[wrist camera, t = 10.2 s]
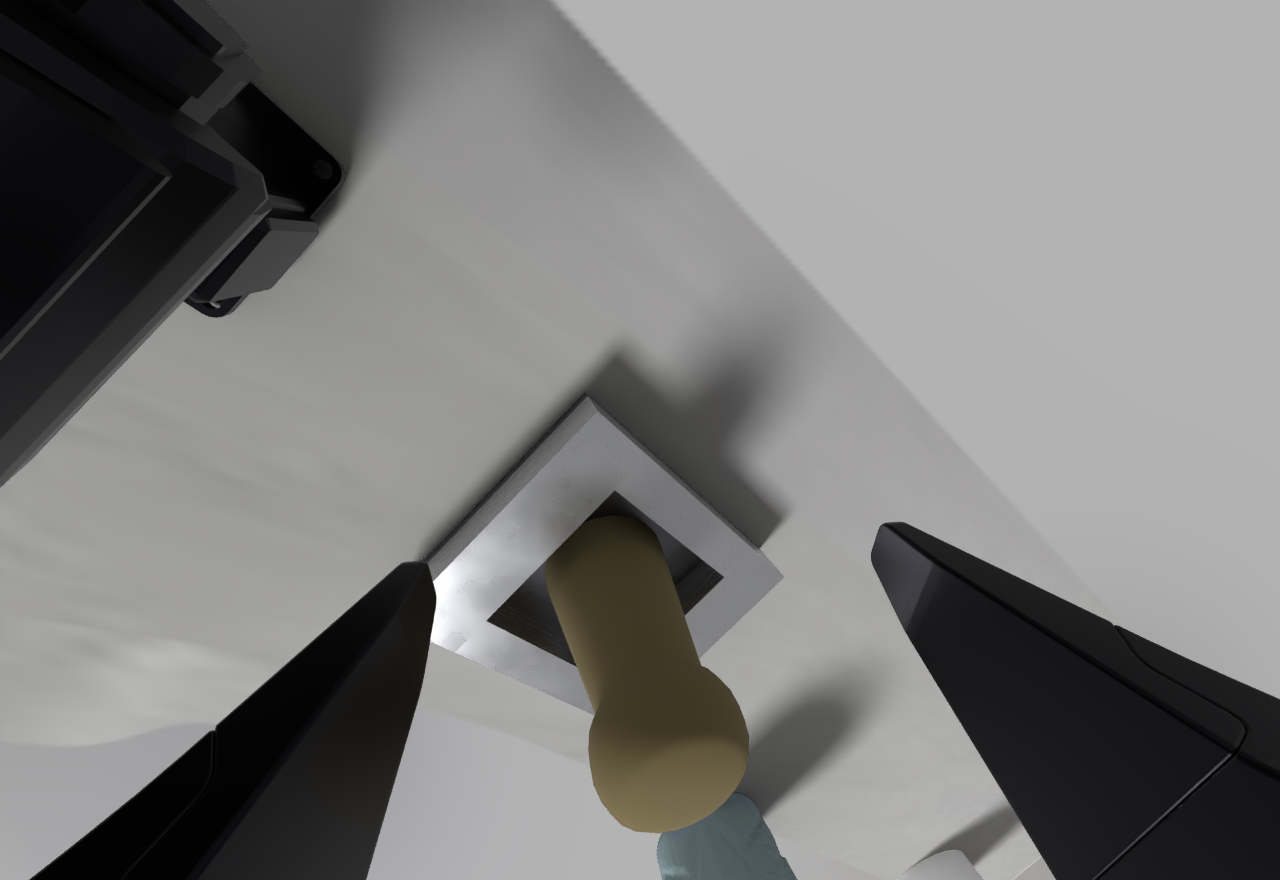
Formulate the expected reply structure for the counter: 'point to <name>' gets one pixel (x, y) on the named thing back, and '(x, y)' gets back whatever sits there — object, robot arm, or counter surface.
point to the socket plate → (546, 516)
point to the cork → (644, 680)
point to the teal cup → (723, 847)
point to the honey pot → (943, 868)
